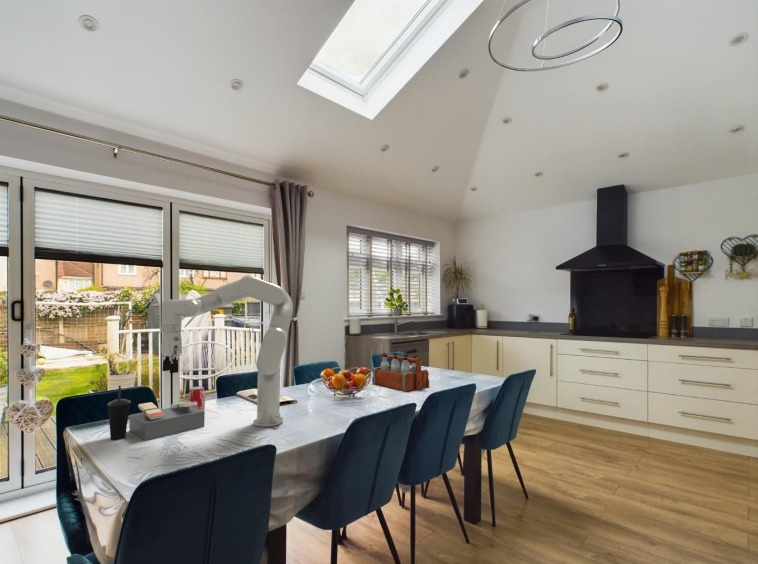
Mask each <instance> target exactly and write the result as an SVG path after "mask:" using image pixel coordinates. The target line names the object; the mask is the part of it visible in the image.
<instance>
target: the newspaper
mask: <svg viewBox="0 0 758 564" xmlns="http://www.w3.org/2000/svg"><path fill="white" fill-rule="evenodd" d="M236 395H237V396H239V397H241V398H244V399H246V400H248V401H250V402H251V403H254V404H256V405H257V388H250V389H246V390H245V389H244V390H239V391H238V392H236ZM287 401H289V402H288V403H290V402H291V403H290V404H297V403H298V400H296V399H294V398H292V397H288V396H286V395H283V394H281V393H280V403H283V402H287Z"/></svg>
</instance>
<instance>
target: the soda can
mask: <svg viewBox="0 0 758 564" xmlns="http://www.w3.org/2000/svg"><path fill="white" fill-rule="evenodd" d="M204 388H205V387H204V386H202V385H201V386H193V387H190V388H189V392H188V402H197V405H193V407H195V408H198V409H200V410H203V411H205V409H206V408H205V407H206V391H205V389H204Z"/></svg>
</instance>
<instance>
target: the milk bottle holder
mask: <svg viewBox="0 0 758 564" xmlns="http://www.w3.org/2000/svg"><path fill="white" fill-rule="evenodd" d="M389 360H391V363H389V362H388V361H389ZM400 362H402V363H401V364H400ZM410 363H412V364H411V365H410ZM422 363H423V361H422V358H421V357H419V356H418V355H413V356H412V357H409V355H408V354H403V356H401V355H398V353H397V352H393V353H392V354H387V353H386V352H382V353H380V366H378V367H374V368H373V369H372V377H371V383H372V385H374V384H375V385H376V384H377V385H378V386H382V387H387V388H390V389H395V390H400V391H403V392H405V391H406V392H410V391H414V390H415V391H417V390H418V391H419V390H422V389H423V388H428V387H430V378H429V376H430V375H429V371H428V369H422Z"/></svg>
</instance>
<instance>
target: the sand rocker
mask: <svg viewBox="0 0 758 564" xmlns="http://www.w3.org/2000/svg"><path fill="white" fill-rule="evenodd" d="M137 407H138V409H139V410H140V411H142V412H141V413H144V414H145V415H146V416H147V417H148V418H149V419H150V420H153V419H158V418H162V417H164V416H165V414H164V413H163V412H162V411H161V410H160V409H161V408H159V407H158V406H157V405H155V404H154V403H153V402H152V401H151V402H144V403H139V404H138V405H137Z"/></svg>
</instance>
